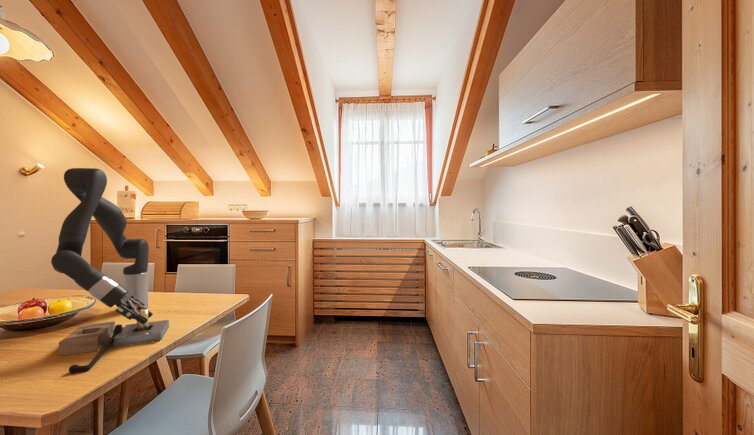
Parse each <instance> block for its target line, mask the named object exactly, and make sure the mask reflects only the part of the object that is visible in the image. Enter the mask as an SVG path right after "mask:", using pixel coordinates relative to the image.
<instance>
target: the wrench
mask: <svg viewBox="0 0 754 435" xmlns="http://www.w3.org/2000/svg"><path fill="white" fill-rule="evenodd" d="M124 327H125V326H124ZM124 327H123V324H120V323H119V324H115V329H114V332H113V335H112V337H111V338H110V339H109V340H108V341H107V342H106V343H105V344H104V345H103V346H102V347H101V348H100V349H99V350H98V353H97V354H96V355H95V356H94V358H93V359H92V360H91V361H90V362H89V363H88V364H86V365H85V364H84V365H79V364H72V365H71V366H70V367H69V368H68V372H69V373H70V374H76V373H84V372H89V371H90V370H91V369H92V368H93V367H94V366H95V364H96V363H97V362H98V361H99V360H100V359H101V358H102V356H103V355H104V354H105V353H106V352H107V351H108V350H109V348H110V347H111V346H112V345H114V340H113V339H114V337H115V336H116V335H117V334H118V333H119V332H120V331H121V330H122V329H123V328H124Z"/></svg>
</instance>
